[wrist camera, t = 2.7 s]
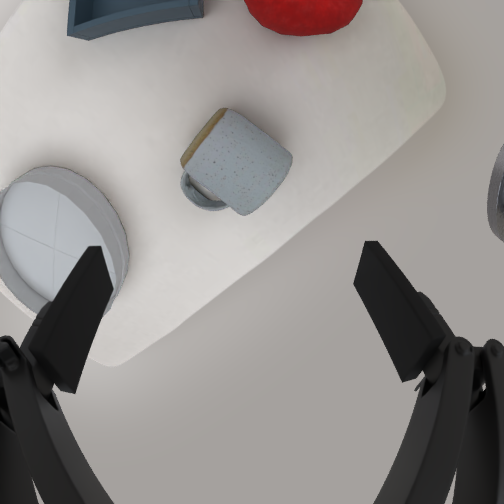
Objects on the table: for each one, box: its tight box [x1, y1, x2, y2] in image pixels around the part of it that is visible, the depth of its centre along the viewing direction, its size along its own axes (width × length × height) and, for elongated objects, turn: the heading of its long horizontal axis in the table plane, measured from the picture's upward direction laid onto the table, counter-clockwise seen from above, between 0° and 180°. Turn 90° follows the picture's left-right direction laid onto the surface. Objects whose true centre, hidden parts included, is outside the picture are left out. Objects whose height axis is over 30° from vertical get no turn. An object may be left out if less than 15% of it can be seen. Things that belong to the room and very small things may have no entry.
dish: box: [0, 166, 129, 317], centre depth 30 cm, size 22×22×5 cm
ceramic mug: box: [180, 108, 292, 216], centre depth 25 cm, size 11×8×8 cm
